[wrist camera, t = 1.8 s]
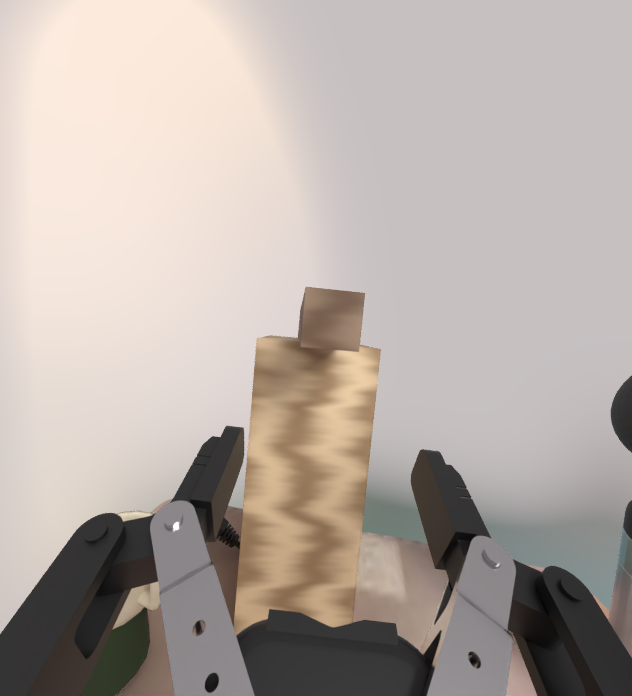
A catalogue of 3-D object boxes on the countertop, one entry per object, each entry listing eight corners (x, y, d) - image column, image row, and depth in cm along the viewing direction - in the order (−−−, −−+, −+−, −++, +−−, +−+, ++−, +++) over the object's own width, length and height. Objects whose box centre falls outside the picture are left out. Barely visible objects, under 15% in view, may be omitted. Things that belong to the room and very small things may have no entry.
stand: (330, 545, 44) (350, 342, 42) (348, 655, 29) (380, 349, 27) (253, 542, 43) (270, 335, 41) (231, 655, 28) (256, 338, 26)
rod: (324, 340, 42) (327, 313, 42) (358, 352, 19) (364, 292, 19) (297, 337, 42) (300, 311, 41) (300, 346, 19) (305, 286, 19)
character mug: (25, 682, 25) (30, 541, 24) (108, 609, 32) (114, 497, 31) (112, 752, 21) (121, 590, 21) (184, 653, 28) (193, 528, 27)
